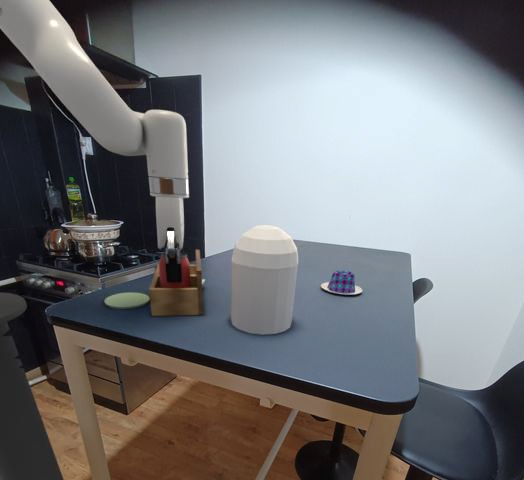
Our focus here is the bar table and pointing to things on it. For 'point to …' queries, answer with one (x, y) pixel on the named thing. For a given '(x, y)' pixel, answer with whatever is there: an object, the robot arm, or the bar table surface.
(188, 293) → the box
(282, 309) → the container
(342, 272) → the pudding
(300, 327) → the bar table surface
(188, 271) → the beer can
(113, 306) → the coaster
